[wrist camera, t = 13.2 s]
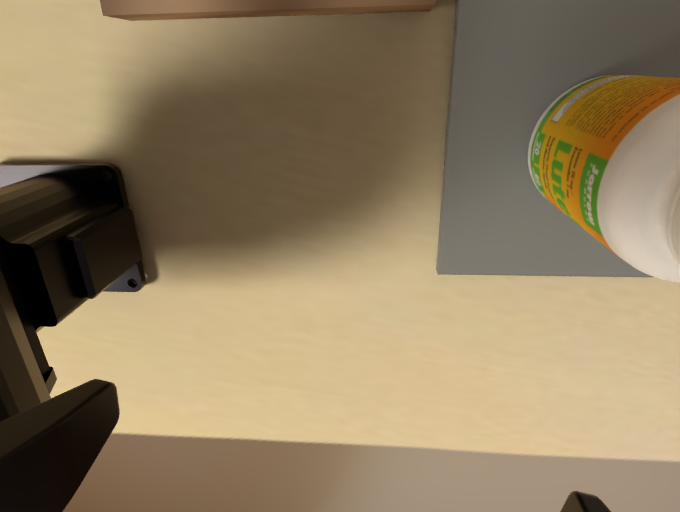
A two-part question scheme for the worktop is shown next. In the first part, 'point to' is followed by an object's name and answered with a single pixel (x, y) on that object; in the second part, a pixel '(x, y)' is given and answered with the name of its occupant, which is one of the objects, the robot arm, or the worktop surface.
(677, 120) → the supplement bottle
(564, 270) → the slate mat
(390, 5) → the hole board
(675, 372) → the worktop surface
